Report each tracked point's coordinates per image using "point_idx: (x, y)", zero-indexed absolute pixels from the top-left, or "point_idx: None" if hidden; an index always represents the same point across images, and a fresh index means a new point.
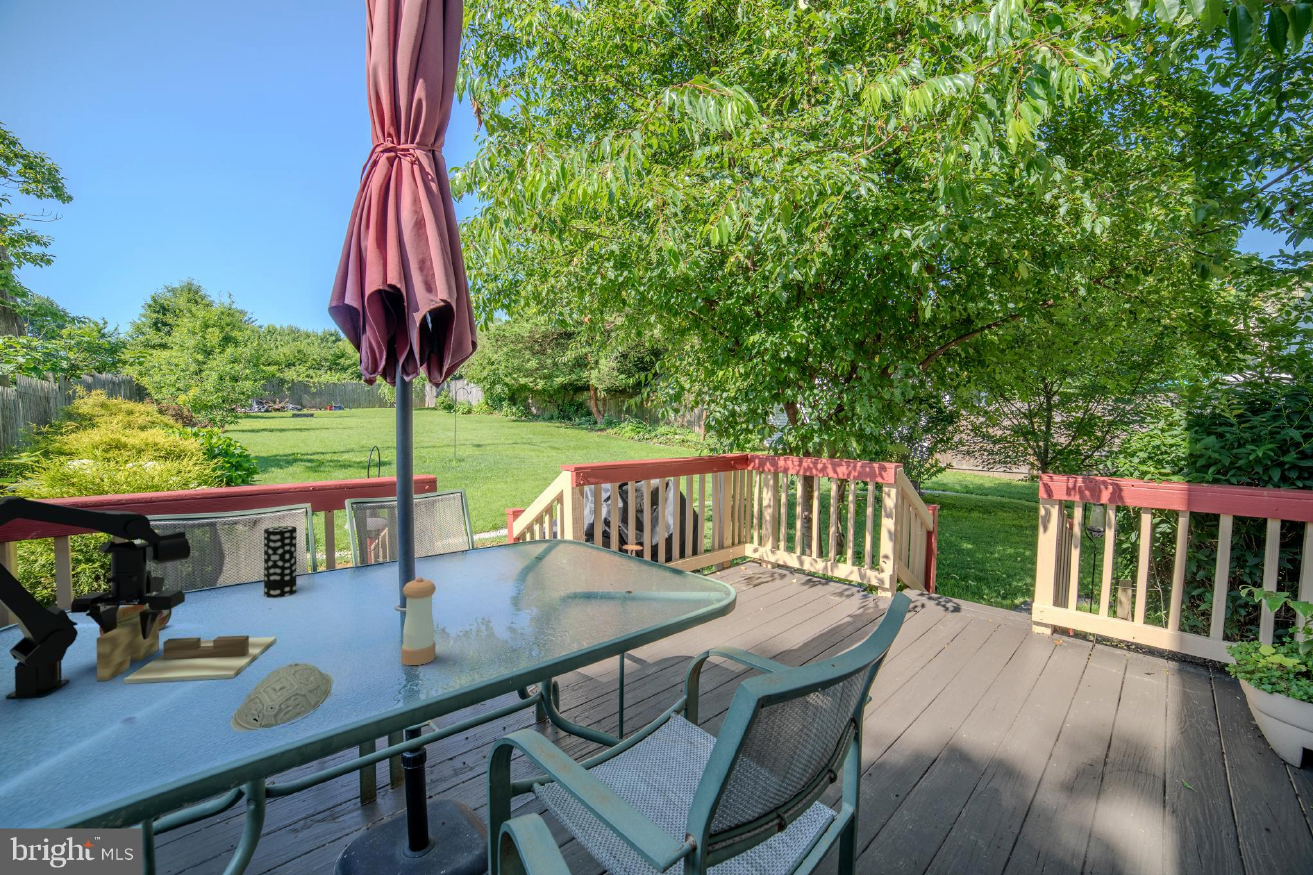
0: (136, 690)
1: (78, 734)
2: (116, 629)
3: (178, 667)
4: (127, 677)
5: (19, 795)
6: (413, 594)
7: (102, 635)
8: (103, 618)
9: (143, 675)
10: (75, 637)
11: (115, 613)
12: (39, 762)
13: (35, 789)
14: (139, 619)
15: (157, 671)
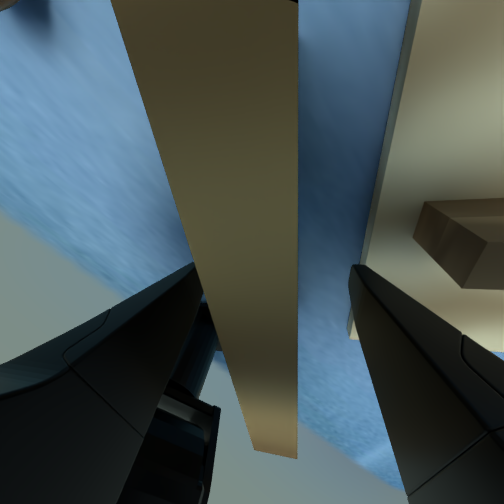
0: None
1: (371, 431)
2: (252, 404)
3: (493, 302)
4: (353, 333)
5: (378, 475)
6: None
7: (252, 439)
8: (127, 466)
9: None
10: (200, 468)
11: (53, 401)
12: (362, 452)
13: (388, 474)
14: (256, 270)
15: None
